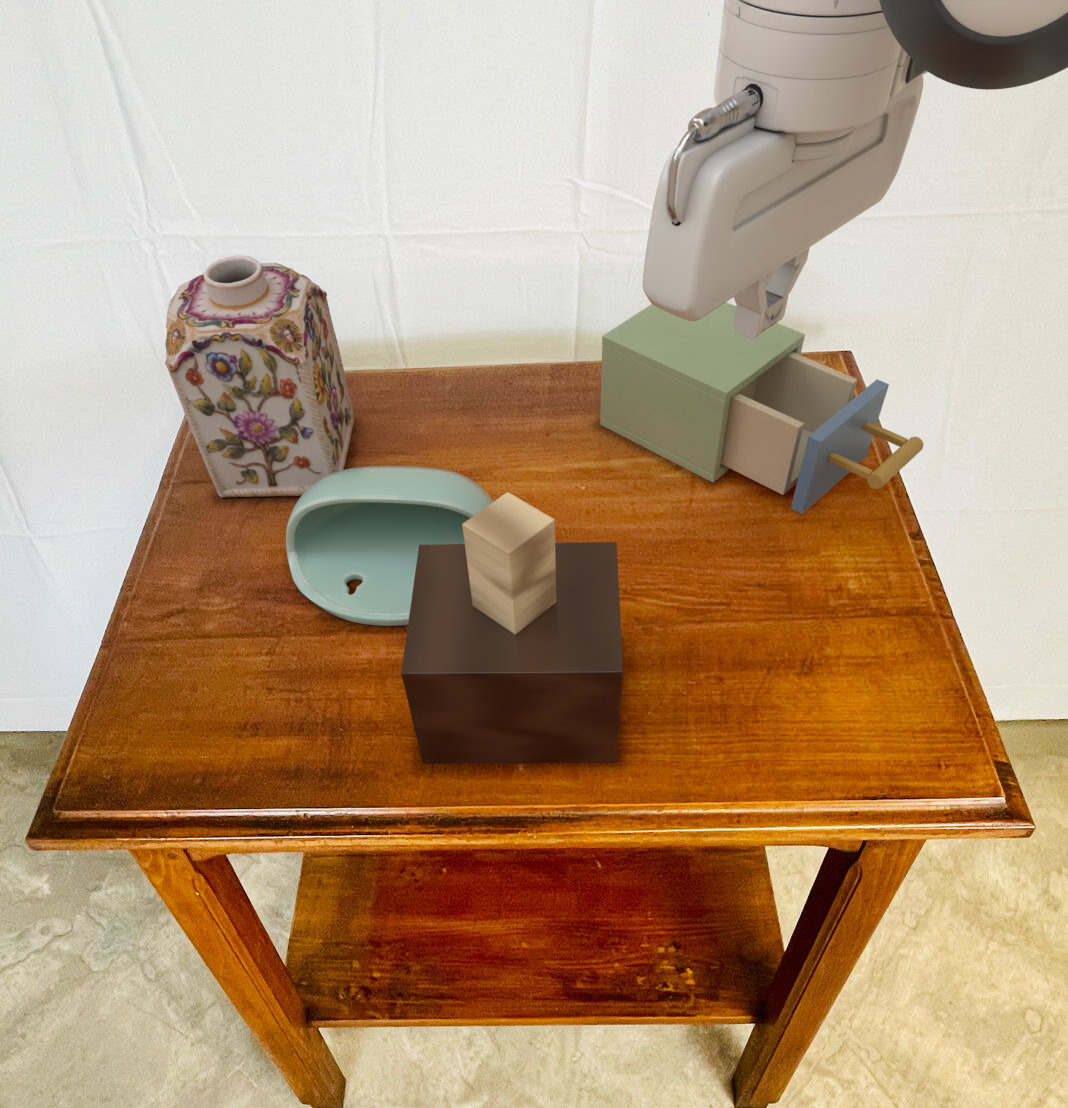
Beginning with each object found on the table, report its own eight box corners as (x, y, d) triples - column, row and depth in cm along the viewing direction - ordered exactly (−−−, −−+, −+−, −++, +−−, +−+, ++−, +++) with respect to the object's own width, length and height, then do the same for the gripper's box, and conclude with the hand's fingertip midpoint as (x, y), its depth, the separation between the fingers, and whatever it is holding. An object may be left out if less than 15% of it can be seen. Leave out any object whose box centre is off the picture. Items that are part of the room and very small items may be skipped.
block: (513, 574, 62) (507, 491, 56) (556, 601, 60) (555, 519, 54) (472, 606, 60) (461, 523, 54) (515, 635, 58) (509, 553, 53)
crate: (611, 638, 71) (616, 541, 63) (616, 762, 64) (623, 671, 56) (436, 640, 72) (418, 544, 64) (422, 763, 65) (400, 673, 57)
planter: (513, 428, 76) (492, 562, 66) (517, 498, 82) (498, 630, 72) (294, 424, 77) (243, 554, 68) (314, 493, 83) (270, 622, 74)
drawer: (918, 480, 80) (946, 407, 74) (855, 541, 75) (879, 468, 69) (752, 404, 87) (765, 332, 81) (686, 455, 83) (695, 383, 77)
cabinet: (785, 424, 86) (805, 334, 79) (712, 483, 82) (726, 393, 74) (673, 372, 92) (682, 284, 85) (599, 425, 88) (602, 335, 80)
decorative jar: (358, 421, 89) (315, 231, 75) (342, 497, 82) (292, 305, 68) (239, 424, 90) (174, 235, 75) (214, 500, 83) (136, 309, 68)
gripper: (732, 144, 39) (694, 421, 51) (964, 19, 48) (888, 280, 59) (622, 108, 42) (610, 378, 53) (860, -5, 50) (806, 250, 62)
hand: (757, 326), depth 56 cm, fingers closed
